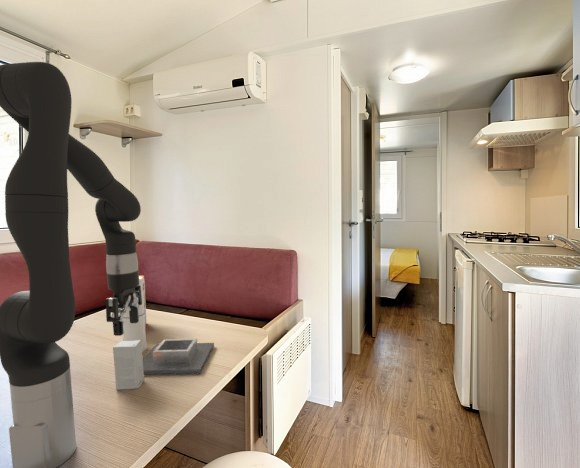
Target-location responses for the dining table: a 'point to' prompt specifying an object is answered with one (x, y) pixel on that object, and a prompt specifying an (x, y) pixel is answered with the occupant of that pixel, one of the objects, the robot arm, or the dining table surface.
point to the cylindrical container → (135, 324)
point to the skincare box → (128, 364)
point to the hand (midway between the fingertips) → (127, 328)
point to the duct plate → (177, 357)
